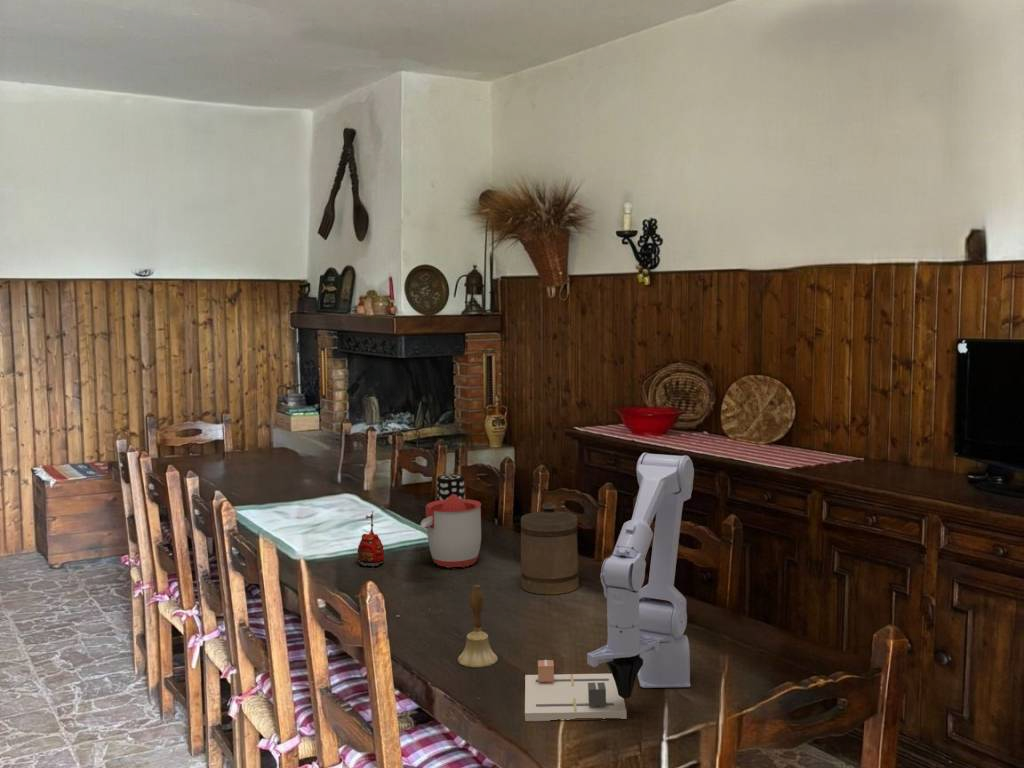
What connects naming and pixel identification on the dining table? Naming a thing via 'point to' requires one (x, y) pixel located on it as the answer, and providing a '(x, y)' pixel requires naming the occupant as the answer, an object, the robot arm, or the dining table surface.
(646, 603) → the robot arm
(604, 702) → the fader charcoal
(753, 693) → the dining table surface
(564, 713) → the console
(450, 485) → the spotted tube
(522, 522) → the wooden container
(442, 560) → the citrus juicer
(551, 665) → the fader terracotta
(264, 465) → the dining table surface
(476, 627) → the hand bell
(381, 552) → the red clay folk toy
